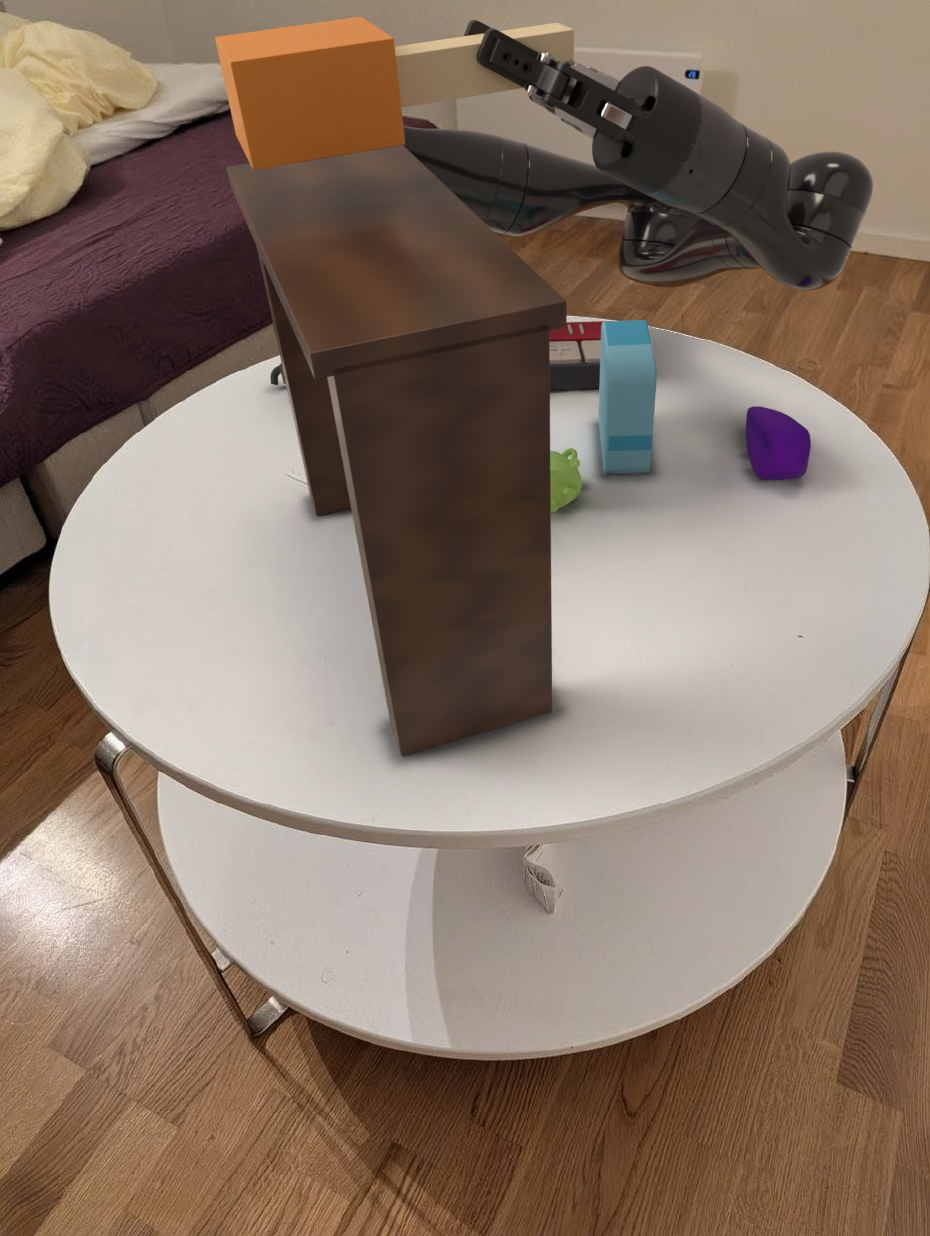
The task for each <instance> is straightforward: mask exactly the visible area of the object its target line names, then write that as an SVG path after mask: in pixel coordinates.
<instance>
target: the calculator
mask: <svg viewBox="0 0 930 1236" xmlns="http://www.w3.org/2000/svg"><path fill="white" fill-rule="evenodd" d="M606 321H607V320H598V321H597V320H595V321H567V326H566V328H561V329H556V330H551V331H549V351H550V390H560V389H561V390H564V389H565V390H567V389H593V388H594V389H596V388H597V389H599V386H600V353H601V326H602V323H603V322H606Z"/></svg>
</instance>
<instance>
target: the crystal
mask: <svg viewBox="0 0 930 1236" xmlns="http://www.w3.org/2000/svg"><path fill="white" fill-rule="evenodd" d="M745 440H746V451H747V455H748V459H749V463H750V466H751V468H752V470H753V472H754V473H755V475H756V476H757V478H758V479H759V480H763V481H790V480H795V479H799V478H802V477H803V476H805V474H806V472H807V469H808V467H809V460H810V454H811V448H812V447H811V446H812V440H811V434H810V432H809V430H808V429H807V427H805V426H804V425H803V424H801V423H799V422H798V421H797V420H795V419H794V418H793V417H792V416H790V415H788V414H786V413H784V412H782V411H779V410H777V409H773V408H769V407H766V406H760V405H753V406H750V407H749V408H747V410H746V417H745Z"/></svg>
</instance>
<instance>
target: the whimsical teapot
mask: <svg viewBox="0 0 930 1236" xmlns="http://www.w3.org/2000/svg"><path fill="white" fill-rule="evenodd" d="M569 457H570V459H569ZM580 466H581V461H580V460H579V459H578V450H576V449H575V448H573V447H570V448H567V449H566V450H564V451H563V452H562V453H560V452H557V451H555V450H550V477H551V513H555V512H557V511H558V509H561V508H563V507H566V506H567V505H568V504H569V503H571V502H572V501H574V500H575V499H577V498H579V495H580V493H581V490H582V487H583V480H582V476H581V473H580V471H579V470H578V468H579V467H580Z"/></svg>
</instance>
